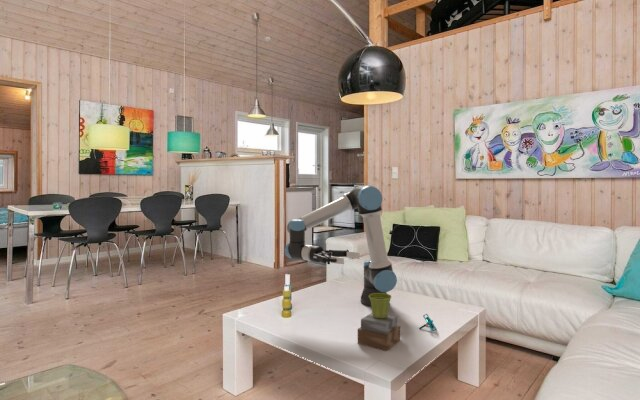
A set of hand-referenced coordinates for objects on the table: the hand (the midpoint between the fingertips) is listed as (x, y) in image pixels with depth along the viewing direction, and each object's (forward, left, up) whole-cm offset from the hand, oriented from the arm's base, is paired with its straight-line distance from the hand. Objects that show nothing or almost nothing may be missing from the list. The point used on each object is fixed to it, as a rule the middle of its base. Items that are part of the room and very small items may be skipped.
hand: (351, 258), depth 178 cm
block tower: (+6, +17, -32) cm, 37 cm away
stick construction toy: (-20, +28, -32) cm, 47 cm away
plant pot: (+4, +16, -22) cm, 28 cm away
